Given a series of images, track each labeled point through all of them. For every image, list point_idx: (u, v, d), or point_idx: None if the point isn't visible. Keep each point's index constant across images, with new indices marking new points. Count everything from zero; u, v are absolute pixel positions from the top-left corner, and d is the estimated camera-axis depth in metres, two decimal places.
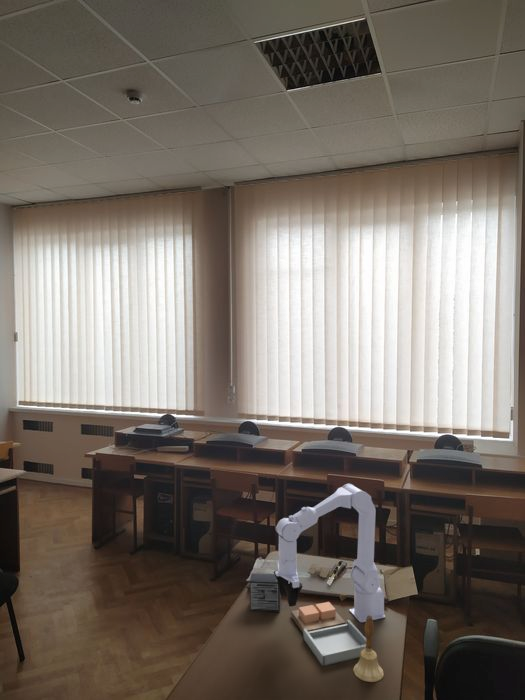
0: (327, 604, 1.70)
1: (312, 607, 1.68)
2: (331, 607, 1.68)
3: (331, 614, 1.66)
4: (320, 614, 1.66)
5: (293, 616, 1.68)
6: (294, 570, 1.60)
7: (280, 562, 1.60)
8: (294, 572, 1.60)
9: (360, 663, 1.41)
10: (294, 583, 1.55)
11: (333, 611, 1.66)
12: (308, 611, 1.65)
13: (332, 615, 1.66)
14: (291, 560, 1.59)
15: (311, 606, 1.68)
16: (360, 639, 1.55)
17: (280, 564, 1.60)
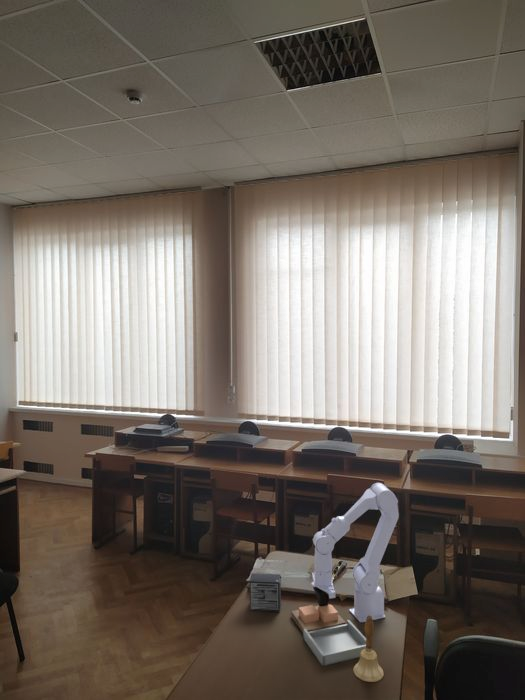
0: (329, 607, 1.68)
1: (312, 607, 1.68)
2: (333, 610, 1.66)
3: (333, 617, 1.64)
4: (322, 617, 1.64)
5: (293, 616, 1.68)
6: (330, 581, 1.68)
7: (316, 573, 1.68)
8: (330, 583, 1.68)
9: (360, 663, 1.41)
10: (331, 594, 1.62)
11: (335, 614, 1.64)
12: (308, 611, 1.65)
13: (334, 618, 1.64)
14: (325, 572, 1.67)
15: (311, 606, 1.68)
16: (360, 639, 1.55)
17: (316, 575, 1.68)
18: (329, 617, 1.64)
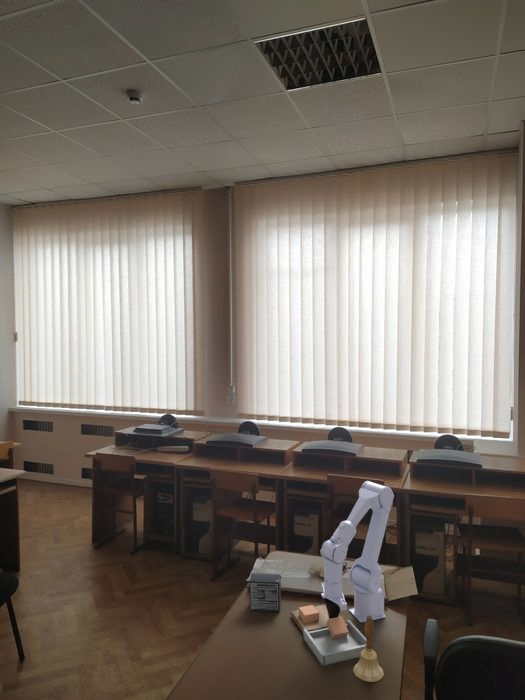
0: (340, 621, 1.60)
1: (312, 607, 1.68)
2: (344, 627, 1.58)
3: (343, 635, 1.58)
4: (331, 633, 1.57)
5: (293, 616, 1.68)
6: (340, 592, 1.60)
7: (326, 584, 1.61)
8: (340, 594, 1.60)
9: (360, 663, 1.41)
10: (342, 606, 1.55)
11: (345, 633, 1.57)
12: (308, 611, 1.65)
13: (343, 635, 1.58)
14: (340, 581, 1.60)
15: (311, 606, 1.68)
16: (360, 639, 1.55)
17: (326, 586, 1.61)
18: (338, 635, 1.57)
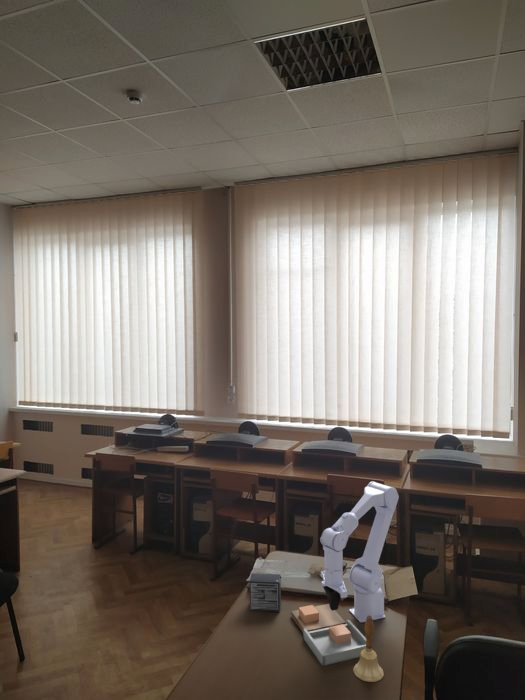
0: (341, 627, 1.59)
1: (312, 607, 1.68)
2: (346, 630, 1.57)
3: (346, 638, 1.56)
4: (334, 638, 1.55)
5: (293, 616, 1.68)
6: (341, 580, 1.60)
7: (327, 572, 1.60)
8: (341, 582, 1.60)
9: (360, 663, 1.41)
10: (342, 593, 1.55)
11: (348, 635, 1.56)
12: (308, 611, 1.65)
13: (347, 639, 1.56)
14: (340, 569, 1.60)
15: (311, 606, 1.68)
16: (360, 639, 1.55)
17: (327, 574, 1.60)
18: (342, 638, 1.55)
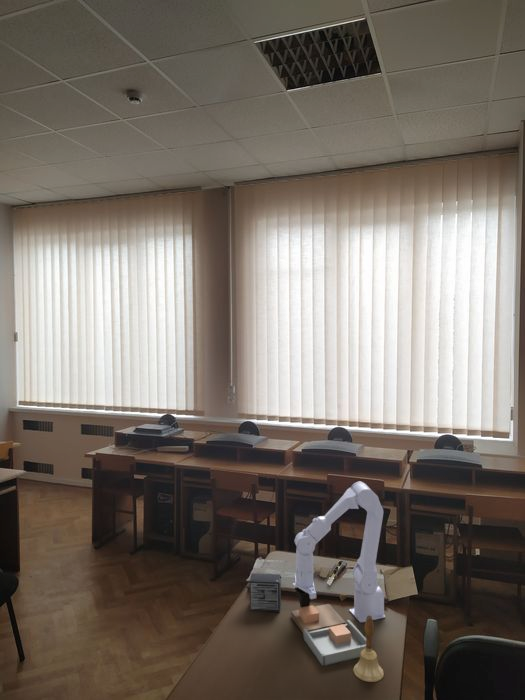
0: (341, 627, 1.59)
1: (312, 607, 1.68)
2: (346, 630, 1.57)
3: (346, 638, 1.56)
4: (334, 638, 1.55)
5: (293, 616, 1.68)
6: (311, 582, 1.67)
7: (297, 574, 1.68)
8: (311, 584, 1.67)
9: (360, 663, 1.41)
10: (311, 594, 1.62)
11: (348, 635, 1.56)
12: (309, 612, 1.65)
13: (347, 639, 1.56)
14: (306, 572, 1.66)
15: (311, 607, 1.68)
16: (360, 639, 1.55)
17: (297, 576, 1.68)
18: (342, 638, 1.55)
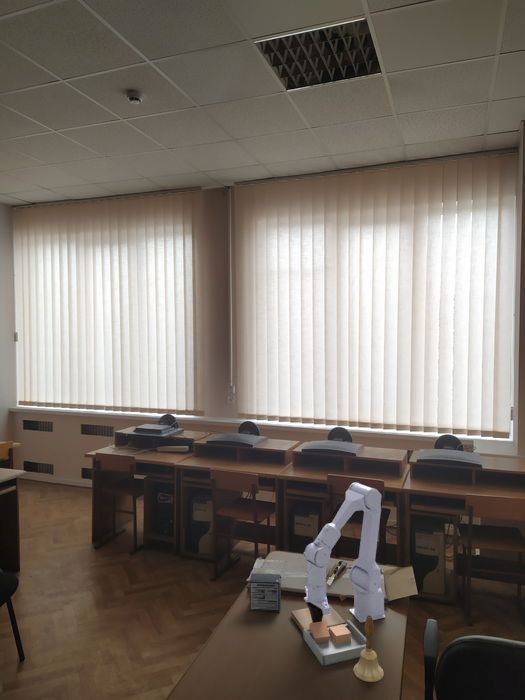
0: (341, 627, 1.59)
1: (324, 625, 1.58)
2: (346, 630, 1.57)
3: (346, 638, 1.56)
4: (334, 638, 1.55)
5: (293, 616, 1.68)
6: (323, 596, 1.58)
7: (309, 588, 1.58)
8: (323, 598, 1.58)
9: (360, 663, 1.41)
10: (324, 610, 1.53)
11: (348, 635, 1.56)
12: (319, 632, 1.55)
13: (347, 639, 1.56)
14: (322, 585, 1.58)
15: (322, 624, 1.58)
16: (360, 639, 1.55)
17: (309, 590, 1.58)
18: (342, 638, 1.55)
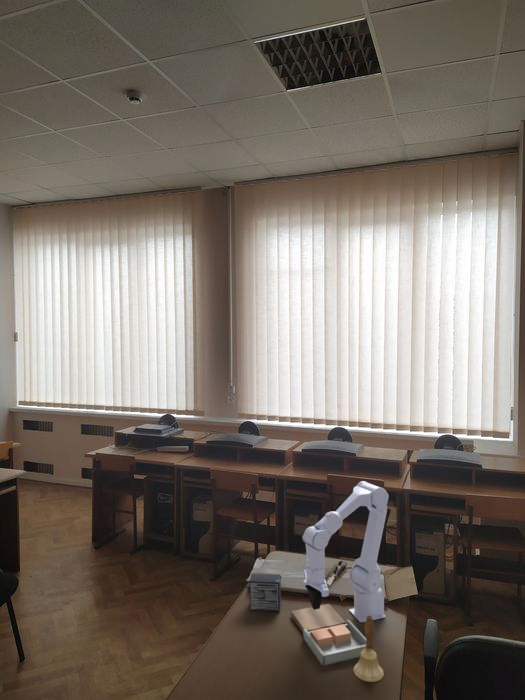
0: (341, 627, 1.59)
1: (325, 630, 1.57)
2: (346, 630, 1.57)
3: (346, 638, 1.56)
4: (334, 638, 1.55)
5: (293, 616, 1.68)
6: (322, 578, 1.59)
7: (308, 571, 1.59)
8: (322, 580, 1.59)
9: (360, 663, 1.41)
10: (324, 592, 1.54)
11: (348, 635, 1.56)
12: (321, 635, 1.54)
13: (347, 639, 1.56)
14: (321, 568, 1.58)
15: (323, 630, 1.57)
16: (360, 639, 1.55)
17: (308, 573, 1.59)
18: (342, 638, 1.55)
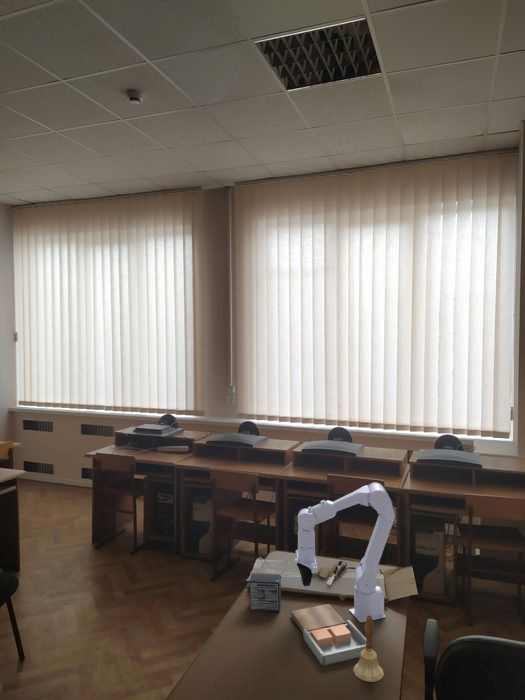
0: (341, 627, 1.59)
1: (325, 630, 1.57)
2: (346, 630, 1.57)
3: (346, 638, 1.56)
4: (334, 638, 1.55)
5: (293, 616, 1.68)
6: (312, 557, 1.71)
7: (299, 550, 1.71)
8: (312, 559, 1.71)
9: (360, 663, 1.41)
10: (313, 569, 1.65)
11: (348, 635, 1.56)
12: (321, 635, 1.54)
13: (347, 639, 1.56)
14: (306, 548, 1.70)
15: (323, 630, 1.57)
16: (360, 639, 1.55)
17: (299, 552, 1.71)
18: (342, 638, 1.55)
